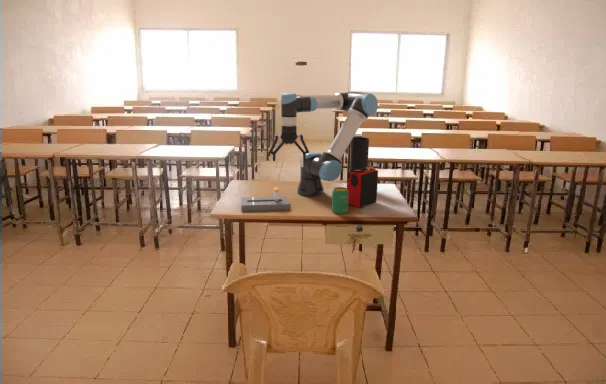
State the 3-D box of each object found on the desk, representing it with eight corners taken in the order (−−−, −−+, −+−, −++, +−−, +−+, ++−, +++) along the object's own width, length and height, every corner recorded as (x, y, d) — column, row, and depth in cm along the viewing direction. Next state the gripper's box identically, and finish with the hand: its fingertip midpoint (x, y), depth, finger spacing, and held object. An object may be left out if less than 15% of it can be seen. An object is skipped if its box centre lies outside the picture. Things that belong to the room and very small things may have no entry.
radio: (362, 198, 252) (364, 162, 247) (377, 202, 245) (379, 166, 240) (344, 204, 241) (345, 167, 236) (359, 208, 235) (360, 170, 229)
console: (286, 201, 245) (286, 195, 245) (289, 209, 232) (289, 203, 231) (241, 202, 243) (241, 197, 242) (241, 211, 229) (241, 205, 228)
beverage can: (342, 208, 234) (343, 186, 231) (350, 213, 228) (351, 190, 224) (328, 210, 231) (329, 187, 228) (337, 215, 224) (337, 192, 221)
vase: (367, 191, 266) (370, 140, 257) (350, 191, 266) (352, 140, 257) (365, 186, 276) (367, 137, 267) (348, 186, 275) (350, 137, 267)
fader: (278, 203, 240) (278, 187, 238) (278, 206, 236) (278, 189, 233) (274, 203, 240) (273, 187, 238) (274, 206, 235) (274, 190, 233)
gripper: (312, 123, 232) (312, 164, 238) (263, 124, 230) (264, 165, 236) (314, 125, 225) (314, 168, 231) (264, 126, 222) (265, 169, 228)
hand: (289, 167), depth 233 cm, fingers open, 13 cm apart
